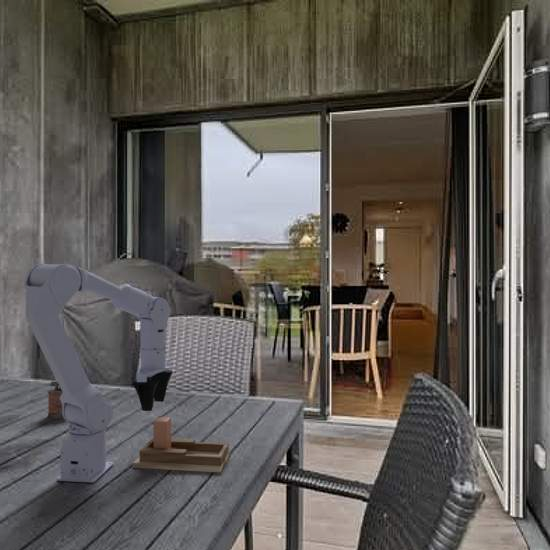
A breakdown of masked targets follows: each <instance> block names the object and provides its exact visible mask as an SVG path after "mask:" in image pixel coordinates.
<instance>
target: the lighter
mask: <svg viewBox="0 0 550 550" xmlns="http://www.w3.org/2000/svg"><path fill="white" fill-rule="evenodd" d="M49 385H50V387H54V388H49V389H47V394H48V396H47V397H48V413H47V418H51V419H64V417H63V414H62V403H61V400H60V396H61V395H62V393H63V392H62V390H61V388H60V386H59V384H58V382H57V380H56V381H55V380H51V381H50V383H49Z"/></svg>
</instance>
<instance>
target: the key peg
mask: <svg viewBox="0 0 550 550" xmlns="http://www.w3.org/2000/svg"><path fill="white" fill-rule="evenodd" d="M153 438H154V448H165V449H177V447H171V438H172V417H165V416H161V417H160V416H159V417H157V418H155V420H153Z"/></svg>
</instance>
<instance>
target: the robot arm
mask: <svg viewBox="0 0 550 550" xmlns="http://www.w3.org/2000/svg"><path fill="white" fill-rule="evenodd" d="M23 286H24V288H25V291H26V292H25V319H26V322H27V324H28V325H29V327H30V330H31V331H32V334H33V335H34V338H35V339H36V341H37V344H38V346H39V347H40V349H41V351H42V353H43V355H44V358H45V360H46V361H47V363H48V365H49V368H50V371H52V373H53V375H54V378H55V379H56V381H57V382H58V384H59V386H58V387H59V388H61V390H62V392H63V393H62V395H61V396H60V400H61V403H62V414H63V417H64V418H63V419H64V420H65V422H67V426H68V427H67V428H68V436H67V439H66V441H64V442H63V443H62V446H61V447H60V475H58V476H57V477H56V481H59V482H60V481H61V482H62V481H63V482H75V483H77V482H78V483H95V482H96V481H97V480H99V478H101V477H102V476H103V474H105V473H106V472H107V471H108V470H109V469H110V468H111V467H112V466H113V465H114V461H107V430H108V426H109V425H110V424H111V422H112V419H113V415H114V409H113V406H112V404H111V403H110V402H109V401H108V400H106V399H105V398H104V397H103V395H102V393H101V392H100V391H99V390H98V389H97V388H96V387H95V386H94V385H93V384H92V383H91V382H90V380H89V377H88V376H87V373H86V370H85V369H84V368H83V366H82V363H81V361H80V359H79V357H78V354H77V352H76V350H75V349H74V346H73V343H72V341H71V340H70V337H69V336H68V333H67V331H66V329H65V326H64V324H63V322H62V320H61V319H60V314H61V313H62V311H63V309H64V308H65V306H67V304H68V303H69V302H70V301H71V300H72V299H73V297H74V296H75V295H76V294H77V292H84V291H85V292H88V293H91V294H94V295H97V296H100V297H103V298H106V299H109V300H111V302H112V305H113V307H114V308H115V309H118V310H120V311H123V312H125V313H127V314H131V315H133V316H135V318H137V320H139V321H140V322H139V323H140V327H139V328H140V329H139V331H140V334H139V335H140V337H139V338H140V367H138V368H139V369H138V372H136V378H134V379H133V380H132V381H131V384H132V387H133V388H134V389H135V391H136V394H137V396H138V399H139V403H140V404H139V405H140V406H141V411H142V412H152V411H153V408H154V402H160V403H163V402H164V401H165V398H166V393H167V390H168V385H169V382H170V379H171V377H172V375H173V370H171V369H172V368H171V366H170V365H169V360H167V359H166V357H167V356H166V355H167V353H166V352H167V351H166V349H167V348H166V347H167V346H166V345H167V343H166V342H167V340H166V337H167V335H166V328H167V327H168V320H169V318H170V316H171V313H172V307H170V304H169V302H168V301H167V300H166V299H165V298H164V297H160V296H153V294H152V292H151V291H144V290H141V289H139V288H137V284H135V283H131V282H129V283H122V284H120V285H117V284H115V283H113V282H111V281H108V280H107V279H105V278H102V277H101V276H98V275H96V274H95V273H92V272H90V271H89V270H86V269H84V268H81V267H78V266H77V267H76V266H75V265H72V264H70V263H61V264H49V263H38V264H35V265H34V266H33V267H32V268H31V269H30V270H29V272H28V274H27V276H26V277H25V278H24V281H23Z"/></svg>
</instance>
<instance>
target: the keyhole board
mask: <svg viewBox="0 0 550 550" xmlns="http://www.w3.org/2000/svg"><path fill="white" fill-rule="evenodd" d="M229 446H230V445H229V443H220V442H202V441H200V442H198V441H196V439H190V438H173V437H171V447H177V449H165V448H154V437H152V438H151V439H150V440H148V442H147V443H145V445H144V446H143V447H142V448H141V449H139V456H138V457H137V458H136V459H135V460H134V461H133V462H132V468H133V469H148V470H165V471H167V470H168V471H186V472H188V471H189V472H204V473H207V472H208V473H221V472H222V470H223V468H224V467H225V465H226V463H227V461H228V459H229V458H230V456H231V450H230V449H229V448H230V447H229Z"/></svg>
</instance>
